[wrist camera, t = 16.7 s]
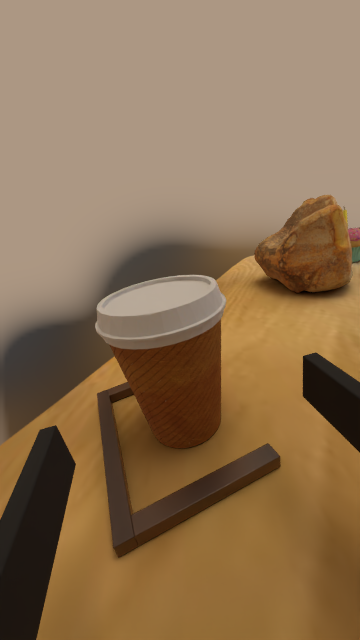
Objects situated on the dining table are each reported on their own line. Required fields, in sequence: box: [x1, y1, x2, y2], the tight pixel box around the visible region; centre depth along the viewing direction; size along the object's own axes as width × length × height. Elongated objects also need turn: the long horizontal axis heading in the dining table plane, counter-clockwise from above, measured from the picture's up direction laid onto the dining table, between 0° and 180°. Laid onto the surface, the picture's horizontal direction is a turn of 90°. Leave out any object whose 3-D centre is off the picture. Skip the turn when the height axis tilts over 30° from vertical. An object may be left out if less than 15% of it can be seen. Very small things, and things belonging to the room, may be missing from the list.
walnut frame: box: [97, 382, 280, 557], centre depth 22 cm, size 11×15×1 cm
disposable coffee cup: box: [95, 275, 226, 448], centre depth 20 cm, size 10×10×12 cm
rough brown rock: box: [255, 195, 352, 293], centre depth 49 cm, size 23×17×15 cm
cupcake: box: [343, 207, 360, 262], centre depth 56 cm, size 9×8×12 cm
